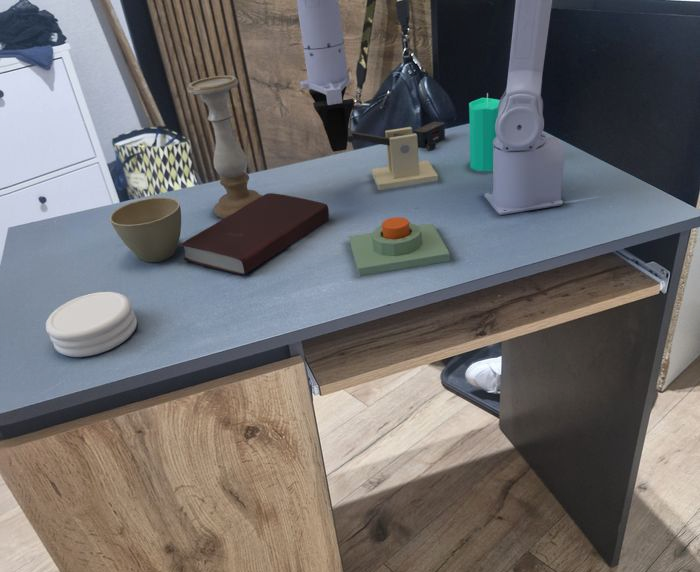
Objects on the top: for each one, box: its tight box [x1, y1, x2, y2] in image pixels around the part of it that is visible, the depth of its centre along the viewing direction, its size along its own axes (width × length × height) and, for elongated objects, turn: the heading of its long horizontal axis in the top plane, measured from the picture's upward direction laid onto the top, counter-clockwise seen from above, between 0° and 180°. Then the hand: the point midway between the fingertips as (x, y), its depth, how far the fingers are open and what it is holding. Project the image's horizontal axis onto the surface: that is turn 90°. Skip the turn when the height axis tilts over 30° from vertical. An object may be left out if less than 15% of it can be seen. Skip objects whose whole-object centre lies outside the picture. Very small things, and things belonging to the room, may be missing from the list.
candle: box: [468, 92, 500, 172], centre depth 106 cm, size 6×6×12 cm
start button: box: [381, 216, 410, 239], centre depth 85 cm, size 4×4×2 cm
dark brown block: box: [413, 121, 446, 151], centre depth 121 cm, size 5×7×3 cm, turn 134°
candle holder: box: [186, 75, 263, 220], centre depth 101 cm, size 9×9×20 cm
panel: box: [348, 222, 451, 277], centre depth 86 cm, size 12×10×3 cm
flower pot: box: [109, 196, 182, 263], centre depth 94 cm, size 10×10×7 cm
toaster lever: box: [347, 127, 403, 146], centre depth 105 cm, size 11×5×2 cm, turn 97°
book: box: [180, 192, 330, 276], centre depth 95 cm, size 12×19×3 cm, turn 145°
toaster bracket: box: [371, 126, 439, 191], centre depth 107 cm, size 10×8×8 cm
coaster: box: [45, 291, 138, 358], centre depth 78 cm, size 10×10×4 cm
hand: (336, 142), depth 97 cm, fingers open, 7 cm apart
